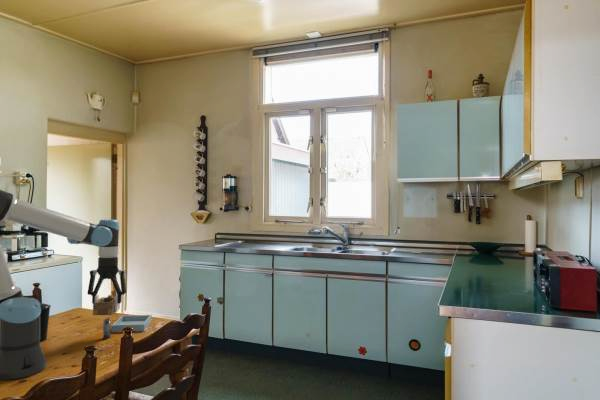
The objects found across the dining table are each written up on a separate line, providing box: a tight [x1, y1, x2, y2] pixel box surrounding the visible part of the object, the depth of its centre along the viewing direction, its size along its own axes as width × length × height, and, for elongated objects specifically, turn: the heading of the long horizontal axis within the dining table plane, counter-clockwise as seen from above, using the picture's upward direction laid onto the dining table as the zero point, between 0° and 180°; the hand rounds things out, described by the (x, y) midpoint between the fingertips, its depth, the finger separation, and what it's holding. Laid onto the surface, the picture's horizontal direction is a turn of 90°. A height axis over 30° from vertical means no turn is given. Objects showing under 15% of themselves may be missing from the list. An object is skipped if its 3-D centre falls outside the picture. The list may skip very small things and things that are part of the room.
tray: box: [111, 314, 153, 333], centre depth 190 cm, size 16×14×3 cm
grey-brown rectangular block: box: [92, 294, 121, 316], centre depth 175 cm, size 10×7×6 cm
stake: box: [102, 316, 112, 340], centre depth 174 cm, size 4×3×8 cm
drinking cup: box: [38, 290, 52, 343], centre depth 170 cm, size 8×8×20 cm
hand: (106, 311), depth 175 cm, fingers closed on grey-brown rectangular block, 7 cm apart
